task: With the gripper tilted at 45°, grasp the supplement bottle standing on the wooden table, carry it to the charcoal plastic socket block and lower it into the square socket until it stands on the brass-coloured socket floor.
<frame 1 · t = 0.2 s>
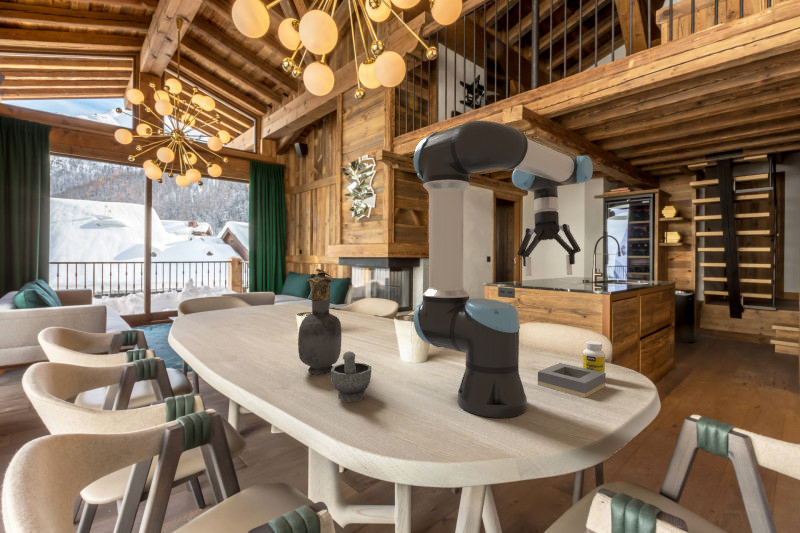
hand: (548, 275, 125), 27 cm above the table, tool pointing down, fingers open, 13 cm apart
dark decorative bottle: (322, 369, 112), on the table
mortar and pestle: (351, 398, 89), on the table
socket block: (571, 385, 97), on the table
supplement bottle: (593, 378, 104), on the table
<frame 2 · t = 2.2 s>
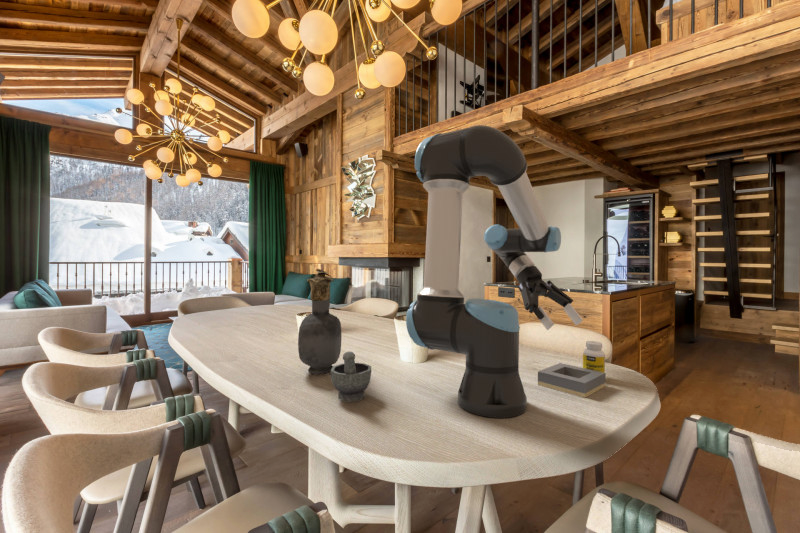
hand: (565, 325, 112), 13 cm above the table, tool tilted 45°, fingers open, 13 cm apart
nothing on the table moved.
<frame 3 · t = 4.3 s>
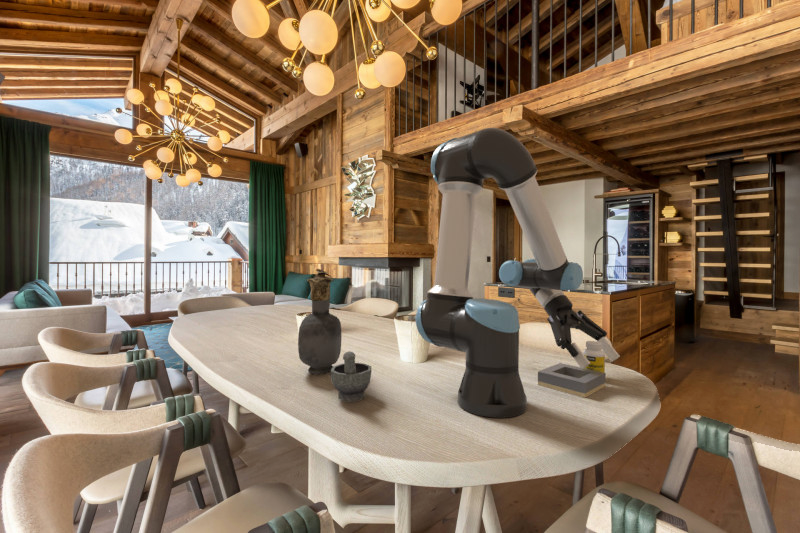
hand: (601, 362, 102), 5 cm above the table, tool tilted 45°, fingers open, 13 cm apart
nothing on the table moved.
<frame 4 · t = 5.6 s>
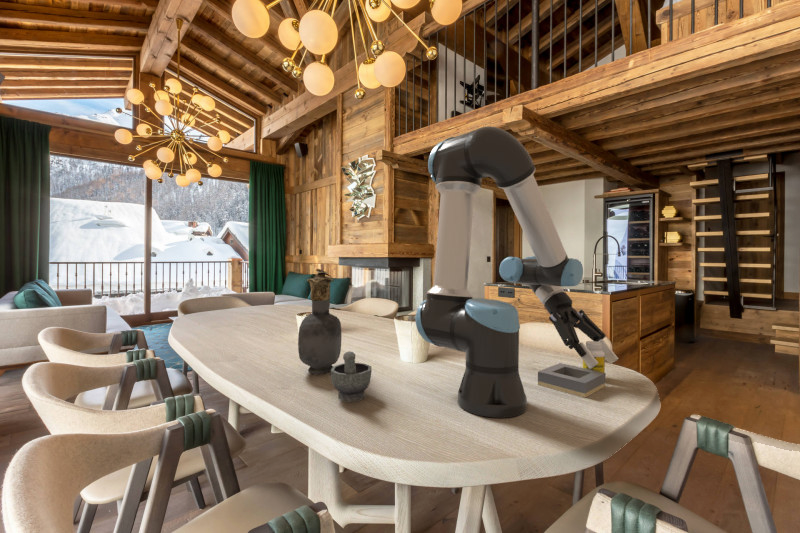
hand: (604, 363, 101), 5 cm above the table, tool tilted 45°, fingers open, 9 cm apart
nothing on the table moved.
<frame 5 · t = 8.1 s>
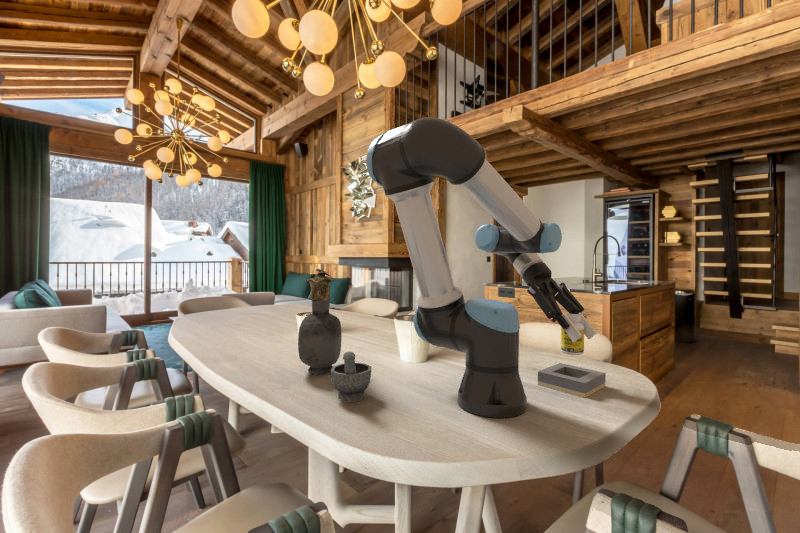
hand: (585, 337, 94), 13 cm above the table, tool tilted 45°, fingers closed on supplement bottle, 5 cm apart
supplement bottle: (572, 353, 97), point 8 cm above the table, touching gripper
everything else where it was.
when the fingers open (6 cm above the table, at t = 10.5 s): supplement bottle stays where it is, resting on socket block.
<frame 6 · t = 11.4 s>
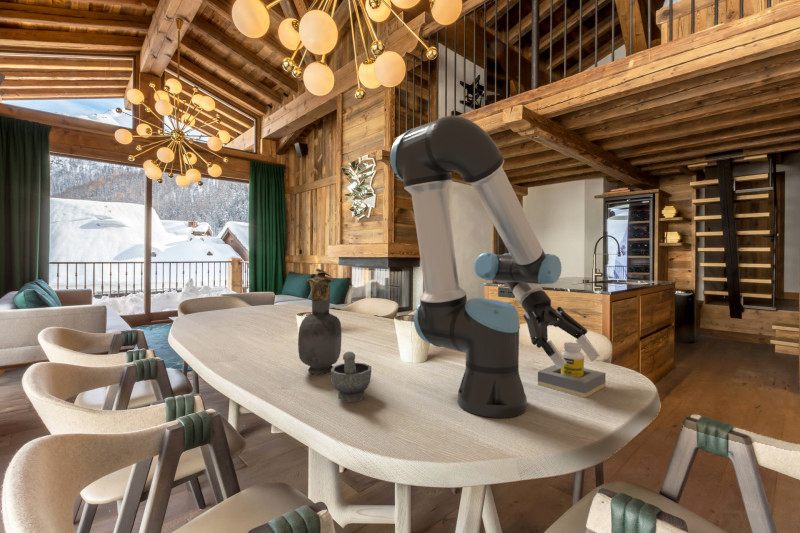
hand: (579, 362, 95), 7 cm above the table, tool tilted 45°, fingers open, 13 cm apart
supplement bottle: (572, 382, 98), point 1 cm above the table, touching socket block
everything else where it was.
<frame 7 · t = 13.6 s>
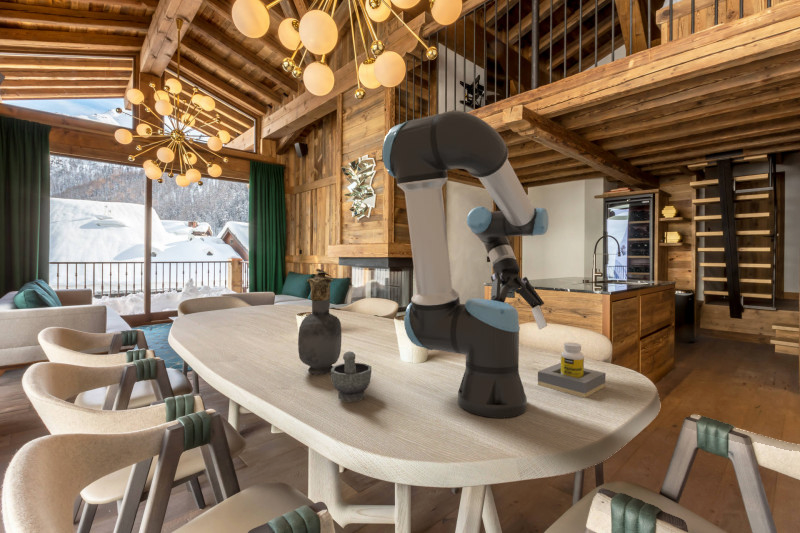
hand: (527, 326, 106), 14 cm above the table, tool tilted 35°, fingers open, 13 cm apart
nothing on the table moved.
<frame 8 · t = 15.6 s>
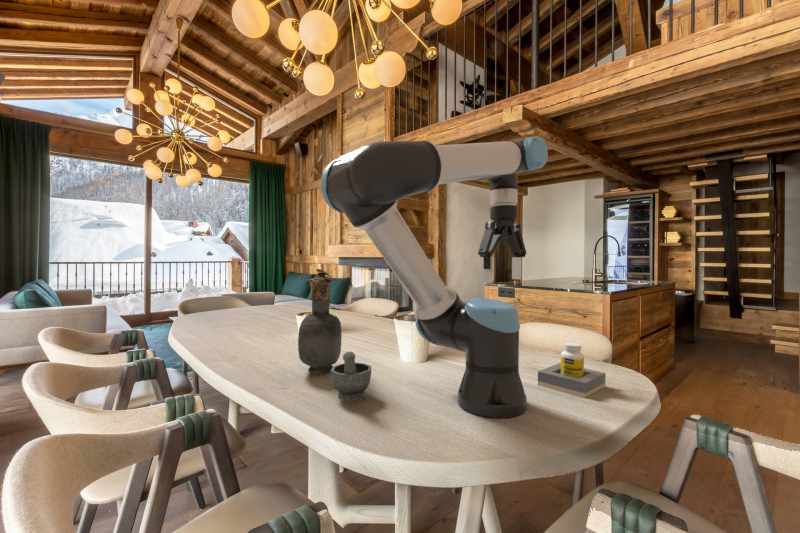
hand: (503, 280, 108), 27 cm above the table, tool pointing down, fingers open, 13 cm apart
nothing on the table moved.
at the end: supplement bottle 0.3 cm off-centre on the socket block, point 0.8 cm above the socket block's base; supplement bottle tilted 0°; the gripper is holding nothing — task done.
